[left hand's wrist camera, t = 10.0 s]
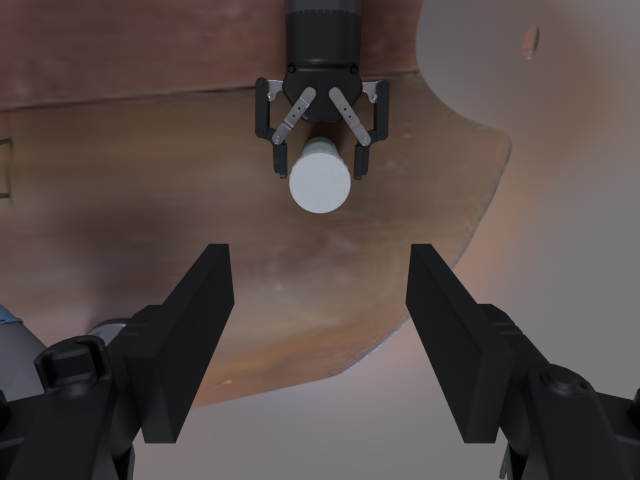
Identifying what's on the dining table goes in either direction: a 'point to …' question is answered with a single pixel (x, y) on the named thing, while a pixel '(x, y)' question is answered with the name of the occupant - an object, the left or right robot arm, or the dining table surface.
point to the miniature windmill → (3, 140)
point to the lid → (320, 181)
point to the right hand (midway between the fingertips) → (320, 177)
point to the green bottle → (319, 145)
